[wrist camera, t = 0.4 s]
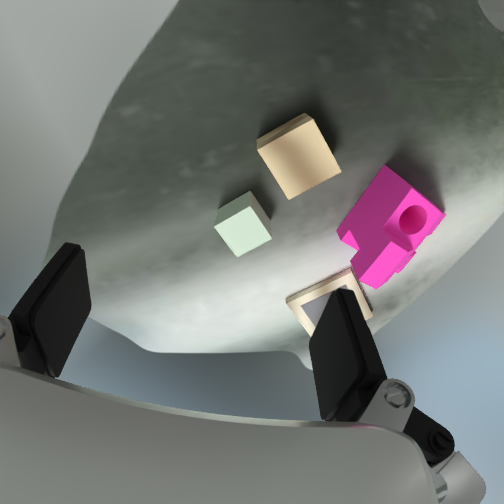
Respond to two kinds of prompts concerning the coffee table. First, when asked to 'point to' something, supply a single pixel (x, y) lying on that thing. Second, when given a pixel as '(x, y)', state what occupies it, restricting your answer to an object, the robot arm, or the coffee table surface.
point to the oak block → (297, 155)
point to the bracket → (387, 227)
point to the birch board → (324, 299)
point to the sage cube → (243, 224)
